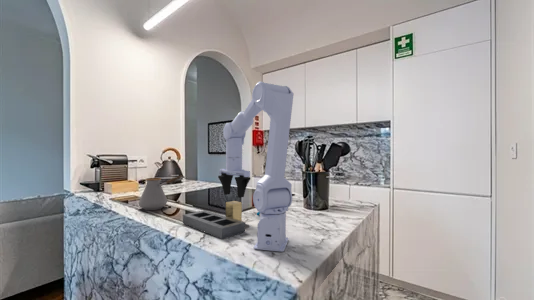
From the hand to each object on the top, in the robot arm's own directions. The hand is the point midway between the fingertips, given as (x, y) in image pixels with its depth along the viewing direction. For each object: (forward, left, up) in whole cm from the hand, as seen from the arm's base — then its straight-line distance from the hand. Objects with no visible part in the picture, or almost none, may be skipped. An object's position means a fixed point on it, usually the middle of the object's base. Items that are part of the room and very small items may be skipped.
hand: (233, 195), depth 90 cm
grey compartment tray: (-8, +4, -9) cm, 13 cm away
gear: (+11, -9, -10) cm, 17 cm away
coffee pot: (+11, +36, -10) cm, 39 cm away
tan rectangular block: (0, 0, -9) cm, 9 cm away
